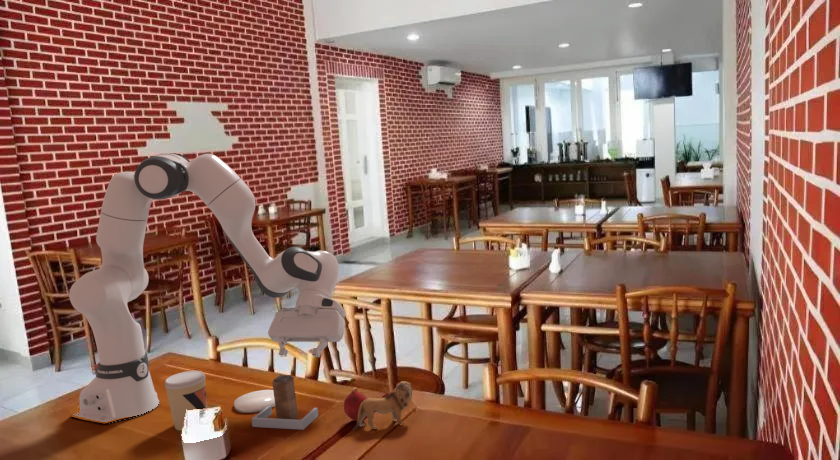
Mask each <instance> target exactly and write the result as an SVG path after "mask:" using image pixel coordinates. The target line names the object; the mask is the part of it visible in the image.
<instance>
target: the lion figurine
mask: <svg viewBox="0 0 840 460" xmlns="http://www.w3.org/2000/svg"><path fill="white" fill-rule="evenodd" d="M412 397H413V389H412V384H411V382H409V381H405V380H404V381H403V380H402V381H400V382H398V383H397V384H396V386H395V388H394V389H393V390H391V391H390V393H388V395H387V396H385V397H380V398H377V397H376V398H374V397H368V398H367V399H366V400H364V401H363V402H362V403H361V404H360V407H359V410H358V418H357V421H356V424H355V425H354V427H353V429H352V430H354V431H355V430H357V429H358V428H359V427H360V428H361V427H362V426H363V427H365V426H364V425H366V424H365V422H363V420H364V419H365V418H366V417H367V425H368V426H369V427H370V429H371V430H372V429H376V428H377V429H378V426H376V425H374V424H373V420H374V417H375V413H377V414H382V415H387V414H391V416H392V420H393V419H394V420H396V419H397V421H396V422H397V424H398V425H399V424H403V422H404V421H402V419H401V418H402V411H404V410H405V409H407V408H408V407H409V405H410V404H409V403H410V402H411V400H412ZM362 408H363V411H362V413H361V410H362ZM394 420H393V421H394ZM403 425H404V424H403ZM363 427H362V428H363Z"/></svg>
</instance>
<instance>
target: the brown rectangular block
mask: <svg viewBox="0 0 840 460" xmlns="http://www.w3.org/2000/svg"><path fill="white" fill-rule="evenodd" d="M294 382H295V381H294V377H293V376H292V375H291V374H290V375H287V374H284V375H283V374H279V375H278V376H277V377H275V378H274V379H273V380H272V390H273V392H274V399H275V407H274V408H275V412H276V413H275V414H276V419H296V420H297V418H299V412H298V405H297V395H296V389H295V383H294Z"/></svg>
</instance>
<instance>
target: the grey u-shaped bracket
mask: <svg viewBox="0 0 840 460" xmlns="http://www.w3.org/2000/svg"><path fill="white" fill-rule="evenodd" d="M272 414H273V410H272V408H271V406H267V407H266V408H265V409H263V410H262V411H260V412H259V413H258V412H257V414H255V415H254V416H253V417H252V418H251V419H250V420H251V426H252V428H268V429H285V430H299V431H301V430H305V429H306V428H307V427H308V426H309V425H310V424H311V423H312V422H314V420H315V419H316V418H317V417H319V409H318V407H313V408H312V409H311V410H310V411H309V412H308V413H307V414H306V415H305V416H304V417H302V418H301V419H297V418H296V419H277V417H276V418H275V417H274V418H272V417H270V416H272Z"/></svg>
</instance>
